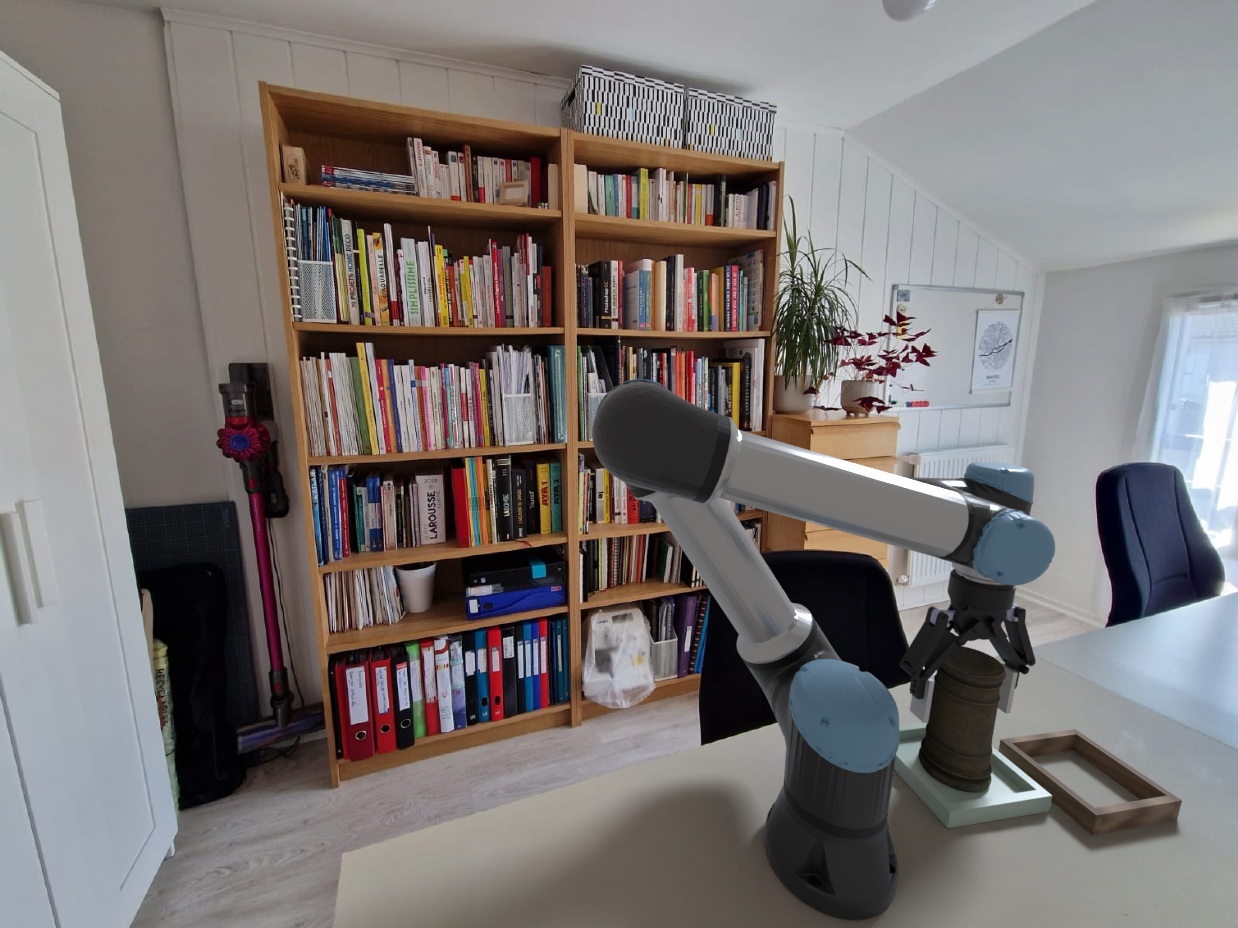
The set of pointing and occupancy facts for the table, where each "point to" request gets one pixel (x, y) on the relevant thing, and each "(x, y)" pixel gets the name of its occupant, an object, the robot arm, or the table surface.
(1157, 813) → the wooden picture frame
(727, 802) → the table surface
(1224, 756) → the table surface
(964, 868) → the table surface
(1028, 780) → the tray
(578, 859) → the table surface
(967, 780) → the container
